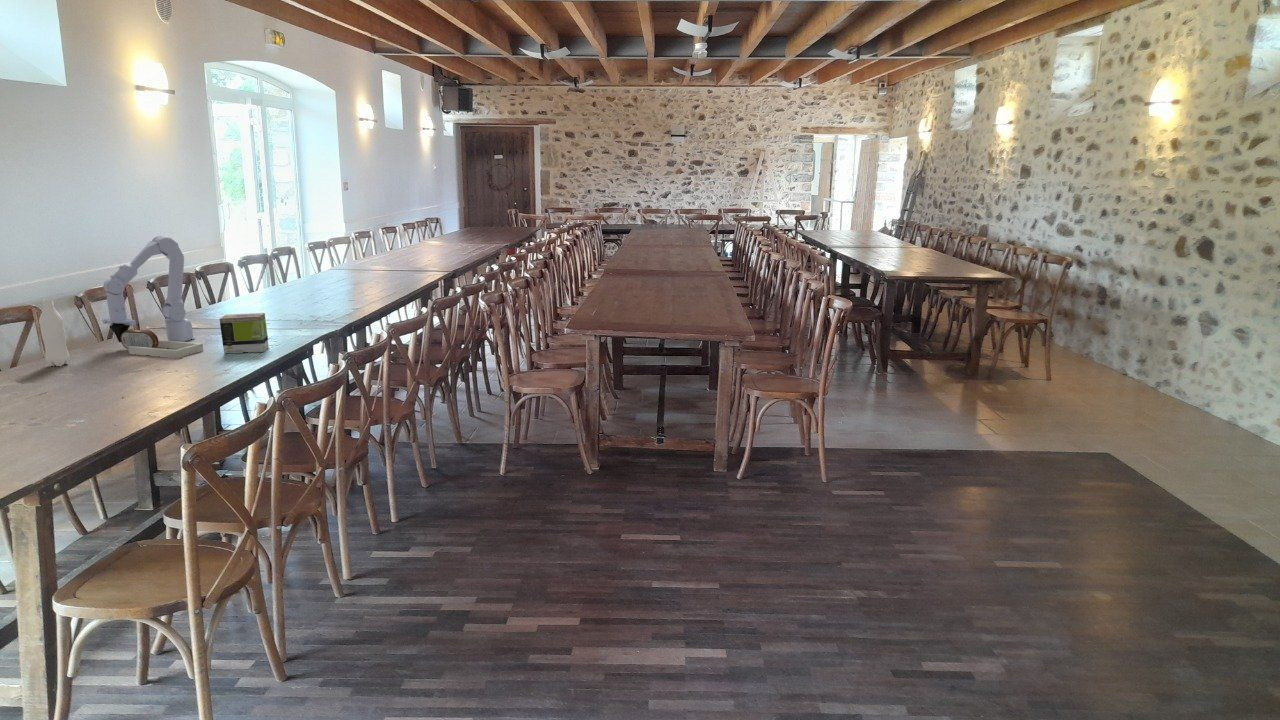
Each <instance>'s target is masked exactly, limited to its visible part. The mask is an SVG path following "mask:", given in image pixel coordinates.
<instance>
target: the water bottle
mask: <svg viewBox="0 0 1280 720" xmlns="http://www.w3.org/2000/svg"><path fill="white" fill-rule="evenodd" d="M41 301H42V312H41V314H40V316H39V320H38V324H39V329H40V333H41V338H42V341H43V345H44V348H45V349H44V350H45V351H44V352H45V354H44V358H45V362H46V363H47V365H48V366H49V367H51V366H53V367H55V366H56V367H57V366H60V367H63V366H62V365H64V364H68V365H69V364H70V361H71V357H70V356H71V355H70V353H69V350H68V348H67V341H66V336H67V335H66V331H65V323H64V318H63V317H62V315H61V314H60V313H59V311H57V309H56V308H55V303H54V300H53V298H43V299H42V300H41Z"/></svg>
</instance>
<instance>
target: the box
mask: <svg viewBox="0 0 1280 720" xmlns="http://www.w3.org/2000/svg"><path fill="white" fill-rule="evenodd" d="M158 341H159V344H158V347H159V348H147V347H135V346H129V347H128V349H129V350H128V349H127V350H128V354H129V355H135V354H136V355H135V356H146V355H150V356H149V357H158V356H160V357H161V358H170V357H172V358H173V359H180V358H182V357H186V355H187V356H190V355H193V353H194V354H197V353H201V352H204V345H203V343H198V342H188V341H184V342H176V341H164V340H161V339H160V340H159V339H158ZM167 348H169V349H167ZM200 351H201V352H200ZM196 352H197V353H196ZM189 354H190V355H189ZM160 357H159V358H160ZM172 358H171V359H172Z"/></svg>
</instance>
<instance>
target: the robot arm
mask: <svg viewBox="0 0 1280 720" xmlns="http://www.w3.org/2000/svg"><path fill="white" fill-rule="evenodd" d="M158 255H163V256H164V257H166V258H167V259H168V260H169V262H168V263H169V265H168V281H167V282H168V283H167V294H166V295H167V297H166V299H165V300H164V305H163V307H162V308H161V313H162V316H163V317H165V319H164V324H165V330H166V331H165V332H166V338H167V339H165V340H164V341H176V342H188V341H192V340H195V339H196V338H195V337H194V332H193V325H192V322H191V320H190V319H187V318H186V315H187V314H186V310H185V304H184V301H183V298H182V297H183V284H184V283H183V282H184V281H183V280H184V269H185V267H184V266H185V256H184V254H183V252H182V250H181V248H180V247H179V243H178V242H176V241H175V240H174V239H173V238H171V237H165V236H162V235H161V236H160V235H157V236H155V237H153V238H152V240H151V241H148V242H147V244H146V245H145V247H143V248H142V250H141V251H140V252H139V253H138V254H137V255H136V256H135V257H134V258H133V259H132V261H130V263H125V264H123V265H120V266H119V267H118V270H117V271H116V272H115V273H114V274H112V275H111V274H110V277H109V279H108V278H107V279H106V280H105V281H104V283H103V286H102V289H103V291H104V292H105V293H106V303H107V309H108V314H109V317H106V318H102V324H103V325H105V324H110V325H109V329H110V330H111V331H112V332H113V333H114V335H115V337H116V338H117V341H118V343H122V342H121V338H120V336H121V334H122V333H123V332H124V331H127V330H129V329H130V326H131V327H133V326H136V325H137V323H136V322H137V320H136V319H130V318H128V316H127V315H128V314H127V309H126V303H125V297H124V292H125V289H126V286H127V285H128V284H129V283H130V282H131V281H132V280H133V279H135V277H136V276H137V275H138V270H139V268H140V267H142V266H143V265H144V264H145V263H146V262H147V261H148V260H149V259H151V257H153V256H158ZM191 339H192V340H191Z"/></svg>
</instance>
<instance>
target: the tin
mask: <svg viewBox="0 0 1280 720" xmlns="http://www.w3.org/2000/svg"><path fill="white" fill-rule="evenodd" d="M120 338H121V342H120V343H121V344H122V346H123V347H124V348H125V349H126V350H128V351H129V349H128V347H129V346H135V347H147V348H157V347H158V344H159V341H158V340H159V338H158V335H157V334H156V333H155V332H154V331H152V330H149V329H135V328H134V329H132V328H131V329H130V328H129V329H128V330H127V331H124V332H123V333H122V334H121V336H120Z"/></svg>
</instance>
